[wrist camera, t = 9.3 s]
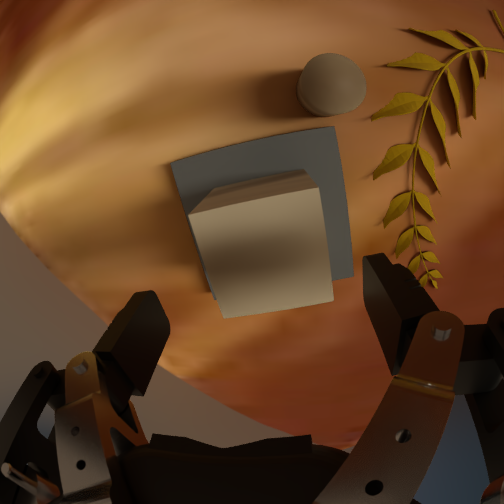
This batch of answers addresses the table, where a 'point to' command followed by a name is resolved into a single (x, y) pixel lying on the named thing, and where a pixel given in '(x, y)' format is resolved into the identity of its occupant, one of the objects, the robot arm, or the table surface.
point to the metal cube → (264, 244)
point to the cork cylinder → (330, 85)
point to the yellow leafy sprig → (402, 152)
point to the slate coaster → (270, 163)
